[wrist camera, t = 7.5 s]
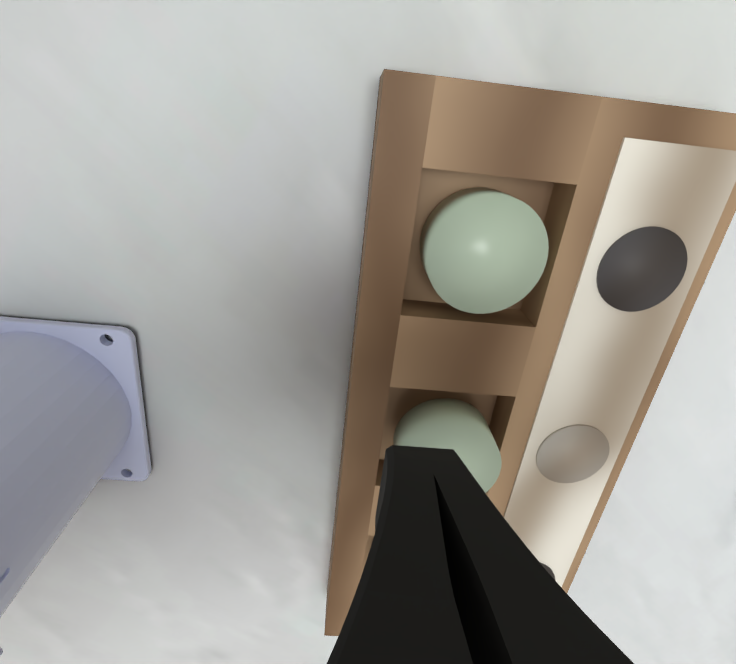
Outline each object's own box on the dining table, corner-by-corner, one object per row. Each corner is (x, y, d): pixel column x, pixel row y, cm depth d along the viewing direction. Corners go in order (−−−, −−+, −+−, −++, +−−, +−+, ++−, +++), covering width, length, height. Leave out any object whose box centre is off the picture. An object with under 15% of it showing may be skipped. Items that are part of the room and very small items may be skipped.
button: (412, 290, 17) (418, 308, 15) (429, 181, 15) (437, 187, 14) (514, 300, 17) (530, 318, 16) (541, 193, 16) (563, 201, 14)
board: (327, 590, 26) (324, 639, 23) (379, 77, 15) (384, 68, 13) (528, 599, 27) (546, 648, 24) (715, 119, 16) (782, 118, 13)
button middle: (387, 472, 19) (390, 504, 18) (400, 394, 18) (404, 421, 16) (477, 478, 20) (488, 510, 18) (498, 402, 18) (512, 429, 16)
